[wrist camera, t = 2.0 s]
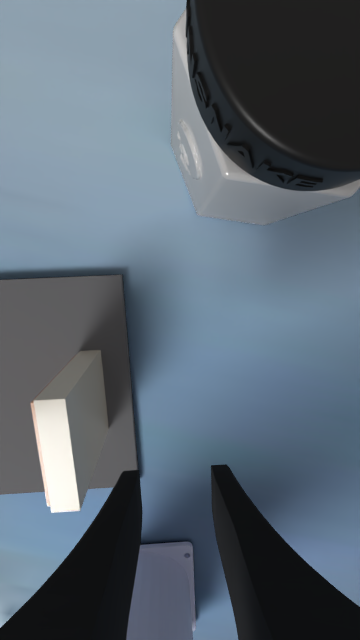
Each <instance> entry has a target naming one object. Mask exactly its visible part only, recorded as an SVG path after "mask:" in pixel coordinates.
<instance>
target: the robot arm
mask: <svg viewBox="0 0 360 640" xmlns="http://www.w3.org/2000/svg"><path fill="white" fill-rule="evenodd" d="M211 485H212V512H213V520H214V527H215V534H216V539H217V544H218V548H219V552H220V556H221V561H222V565H223V569H224V573H225V578H226V582H227V586H228V590H229V594H230V599H231V603H232V607H233V612H234V617H235V622H236V627H237V633H238V639H239V640H360V607H359V606H358V605H356V604H355V603H354V602H352V601H351V600H350V599H349V598H347V597H346V596H345V595H344V594H342V593H341V592H340V591H339V590H337V589H336V588H335V587H334V586H333V585H331V584H330V583H329V582H328V581H327V580H326V579H325V578H323V577H322V576H321V575H320V574H319V573H318V572H317V571H315V570H314V569H313V568H312V567H311V566H310V565H309V564H308V563H307V562H306V561H304V560H303V559H302V558H301V557H300V556H299V555H298V554H297V553H296V552H295V551H294V550H293V549H292V548H291V547H290V546H289V545H288V544H287V543H286V541H285V540H284V539H283V538H282V537H281V536H280V535H279V534H278V533H277V532H276V531H275V529H274V528H273V527H272V526H271V525H270V524H269V522H268V521H267V520H266V519H265V518H264V517H263V515H262V514H261V513H260V512H259V510H258V509H257V508H256V506H255V505H254V504H253V502H252V501H251V500H250V498H249V497H248V496H247V494H246V493H245V491H244V490H243V489H242V487H241V486H240V484H239V483H238V481H237V480H236V478H235V476H234V475H233V473H232V471H231V470H230V468H229V467H228V466H227V465H211ZM141 530H142V500H141V488H140V476H139V470H130V471H123V472H122V473H121V475H120V477H119V479H118V481H117V483H116V485H115V486H114V488H113V490H112V492H111V494H110V495H109V497H108V499H107V500H106V502H105V504H104V505H103V507H102V508H101V510H100V512H99V513H98V515H97V516H96V518H95V519H94V521H93V522H92V524H91V525H90V527H89V528H88V529H87V531H86V532H85V534H84V535H83V537H82V538H81V539H80V541H79V542H78V543H77V545H76V546H75V547H74V549H73V550H72V551H71V552H70V554H69V555H68V556H67V557H66V559H65V560H64V561H63V562H62V564H61V565H60V566H59V567H58V568H57V569H56V571H55V572H54V573H53V574H52V575H51V576H50V577H49V579H48V580H47V581H46V582H45V583H44V584H43V585H42V586H41V588H40V589H39V590H38V591H37V592H36V593H35V594H34V595H33V596H32V597H31V598H30V599H29V600H28V601H27V602H26V603H25V604H24V605H23V606H22V607H21V608H20V609H19V610H18V611H17V612H16V613H15V614H14V615H13V616H12V617H11V618H10V619H9V620H8V621H7V622H6V623H5V624H4V625H3V626H2V627H1V628H0V640H193V631H194V630H195V629H196V619H195V592H194V566H193V546H192V544H191V543H190V542H174V543H159V544H145V545H140V543H141Z"/></svg>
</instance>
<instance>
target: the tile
mask: <svg viewBox="0 0 360 640" xmlns="http://www.w3.org/2000/svg"><path fill="white" fill-rule="evenodd" d="M31 409H32V415H33V422H34V428H35V434H36V440H37V446H38V452H39V458H40V464H41V470H42V477H43V483H44V489H45V495H46V501H47V506H50V507H51V513H54V512H70V511H80V510H81V507H82V504H83V501H84V498H85V496H86V493H87V490H88V487H89V484H90V481H91V478H92V475H93V473H94V470H95V467H96V464H97V461H98V458H99V455H100V452H101V450H102V447H103V444H104V441H105V438H106V435H107V432H108V429H109V426H108V416H107V406H106V397H105V387H104V377H103V367H102V358H101V350H89V351H80V352H79V353H78V354H77V355H75V356H74V357H73V358H72V359H71V360H70V362H69V363H68V364H67V365H66V366H65V367H64V368H63V369H62V370H61V371H60V372H59V373H58V374H57V375H56V376H55V377H54V378H53V379H52V381H51V382H50V383H49V384H48V385H47V386H46V387H45V388H44V389H43V390H42V391H41V392H40V393H39V394H38V395H37V396H36V397H35V398H34V400H33V401H32V402H31Z"/></svg>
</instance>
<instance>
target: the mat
mask: <svg viewBox="0 0 360 640" xmlns="http://www.w3.org/2000/svg"><path fill="white" fill-rule="evenodd" d="M89 350H101V358H102V367H103V377H104V387H105V397H106V406H107V416H108V426H109V429H108V432H107V435H106V438H105V441H104V444H103V447H102V450H101V452H100V455H99V458H98V461H97V464H96V467H95V470H94V473H93V475H92V478H91V481H90V484H89V487H88V489H94V488H110V487H114V486H115V485H116V483H117V481H118V479H119V477H120V475H121V473H122V472H123V471H130V470H138V459H137V447H136V435H135V422H134V410H133V398H132V385H131V373H130V361H129V348H128V336H127V324H126V311H125V299H124V287H123V274H122V275H98V276H75V277H51V278H27V279H3V280H0V494H16V493H31V492H45V489H44V483H43V477H42V470H41V464H40V458H39V452H38V446H37V440H36V434H35V428H34V422H33V415H32V409H31V402H32V401H33V400H34V398H35V397H36V396H37V395H38V394H39V393H40V392H41V391H42V390H43V389H44V388H45V387H46V386H47V385H48V384H49V383H50V382H51V381H52V379H53V378H54V377H55V376H56V375H57V374H58V373H59V372H60V371H61V370H62V369H63V368H64V367H65V366H66V365H67V364H68V363H69V362H70V360H71V359H72V358H73V357H74V356H75V355H77V354H78V353H79V352H80V351H89Z"/></svg>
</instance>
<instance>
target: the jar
mask: <svg viewBox="0 0 360 640" xmlns="http://www.w3.org/2000/svg"><path fill="white" fill-rule="evenodd" d="M171 147H172V149H173V152H174V155H175V157H176V160H177V163H178V165H179V168H180V171H181V173H182V176H183V179H184V181H185V184H186V187H187V189H188V192H189V195H190V197H191V200H192V202H193V205H194V208H195V211H196V213H197V215H199V216H203V217H210V218H217V219H224V220H231V221H237V222H244V223H251V224H258V225H268V224H271V223H274V222H277V221H280V220H283V219H286V218H289V217H292V216H295V215H298V214H301V213H304V212H307V211H310V210H313V209H316V208H319V207H322V206H325V205H328V204H331V203H334V202H337V201H340V200H343V199H346V198H349V197H351V196H353V195H354V194H355V193H356V191H357V190H358V189H359V188H360V0H187V5H186V9H185V10H184V12H183V13H182V15H181V16H180V18H179V19H178V21H177V22H176V24H175V26H174V29H173V53H172V105H171Z"/></svg>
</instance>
